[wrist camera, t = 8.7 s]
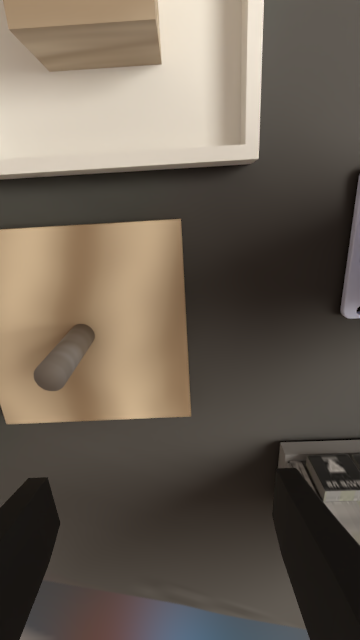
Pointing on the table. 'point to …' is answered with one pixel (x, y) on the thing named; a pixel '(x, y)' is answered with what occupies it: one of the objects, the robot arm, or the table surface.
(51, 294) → the tan base plate
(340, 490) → the tall grey upright box
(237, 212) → the table surface
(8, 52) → the tray
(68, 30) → the collar
